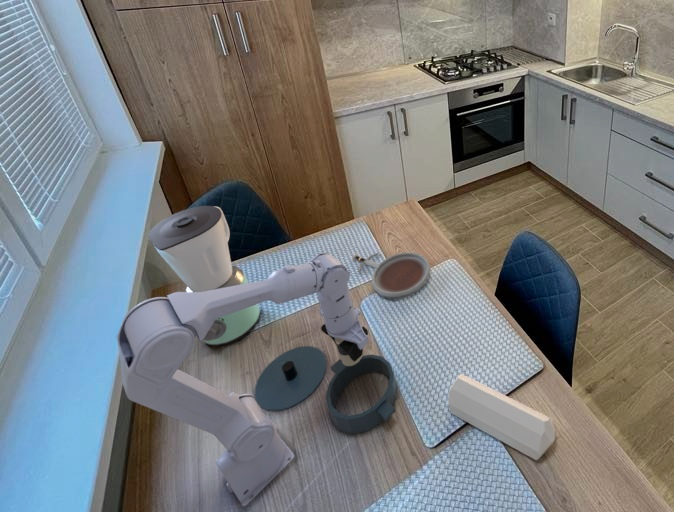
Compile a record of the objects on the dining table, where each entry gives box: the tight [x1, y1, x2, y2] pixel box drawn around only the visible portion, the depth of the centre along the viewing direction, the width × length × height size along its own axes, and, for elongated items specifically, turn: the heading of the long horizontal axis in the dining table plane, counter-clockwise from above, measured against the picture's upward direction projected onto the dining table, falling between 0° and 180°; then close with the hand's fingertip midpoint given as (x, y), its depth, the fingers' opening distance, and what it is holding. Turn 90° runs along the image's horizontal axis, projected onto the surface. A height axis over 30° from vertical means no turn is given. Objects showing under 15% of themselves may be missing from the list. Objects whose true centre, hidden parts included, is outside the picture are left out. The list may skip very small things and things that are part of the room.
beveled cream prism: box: [447, 373, 556, 461], centre depth 84 cm, size 7×7×24 cm
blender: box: [147, 205, 261, 347], centre depth 100 cm, size 19×13×35 cm
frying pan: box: [352, 251, 431, 300], centre depth 122 cm, size 17×3×28 cm
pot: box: [325, 354, 398, 435], centre depth 87 cm, size 14×19×6 cm
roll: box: [334, 337, 364, 366], centre depth 87 cm, size 4×4×8 cm
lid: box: [254, 345, 328, 412], centre depth 92 cm, size 15×15×5 cm
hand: (350, 351), depth 88 cm, fingers closed on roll, 4 cm apart
